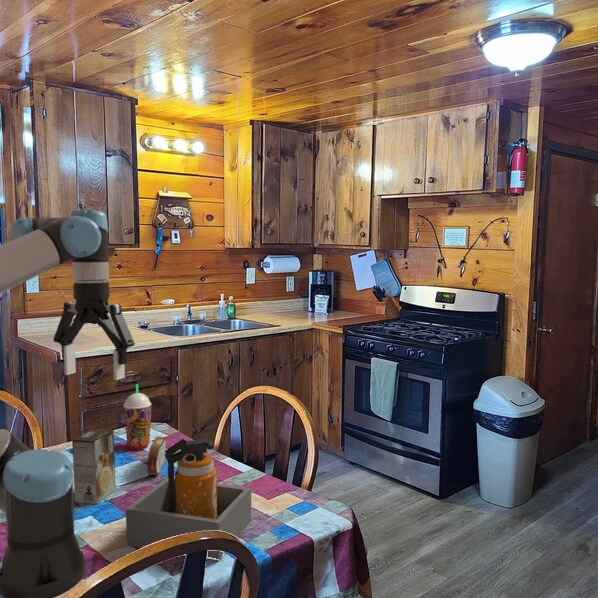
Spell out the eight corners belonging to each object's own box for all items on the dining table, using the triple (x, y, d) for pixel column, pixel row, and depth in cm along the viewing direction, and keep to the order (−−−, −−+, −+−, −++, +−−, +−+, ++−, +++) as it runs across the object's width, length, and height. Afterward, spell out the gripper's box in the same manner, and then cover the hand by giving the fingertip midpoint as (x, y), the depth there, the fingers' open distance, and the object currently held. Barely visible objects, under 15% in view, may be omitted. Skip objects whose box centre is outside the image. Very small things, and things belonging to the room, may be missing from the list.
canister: (217, 535, 126) (216, 445, 124) (165, 540, 124) (163, 448, 122) (216, 516, 134) (215, 432, 133) (166, 520, 132) (165, 434, 131)
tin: (157, 459, 172) (157, 432, 172) (168, 459, 173) (167, 431, 172) (146, 480, 157) (145, 450, 157) (158, 480, 158) (157, 450, 157)
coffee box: (93, 487, 153) (92, 427, 151) (116, 489, 152) (114, 429, 150) (73, 502, 144) (71, 439, 142) (97, 504, 143) (95, 441, 141)
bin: (219, 561, 118) (219, 523, 117) (126, 545, 124) (125, 508, 123) (251, 521, 134) (251, 488, 133) (168, 509, 140) (167, 477, 140)
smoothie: (137, 453, 177) (135, 389, 175) (118, 448, 181) (117, 385, 180) (158, 445, 184) (156, 383, 182) (139, 440, 188) (138, 380, 186)
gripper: (149, 281, 128) (151, 377, 130) (59, 279, 136) (62, 368, 139) (127, 284, 121) (130, 384, 123) (34, 281, 129) (38, 375, 132)
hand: (94, 376), depth 131 cm, fingers open, 13 cm apart
